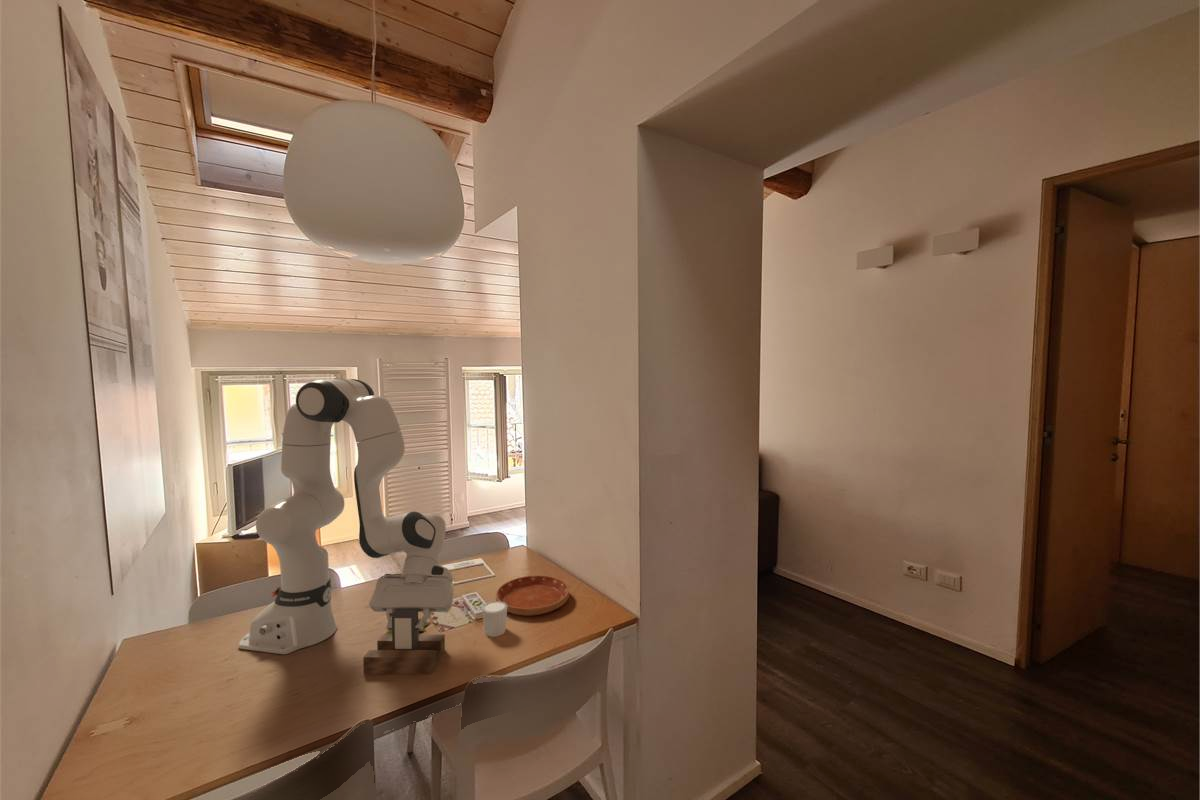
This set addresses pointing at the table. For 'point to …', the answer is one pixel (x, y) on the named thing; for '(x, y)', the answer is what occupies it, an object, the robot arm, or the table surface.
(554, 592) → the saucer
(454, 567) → the photo frame
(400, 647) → the small frame
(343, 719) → the table surface
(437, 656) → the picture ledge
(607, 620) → the table surface
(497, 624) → the white cylinder
